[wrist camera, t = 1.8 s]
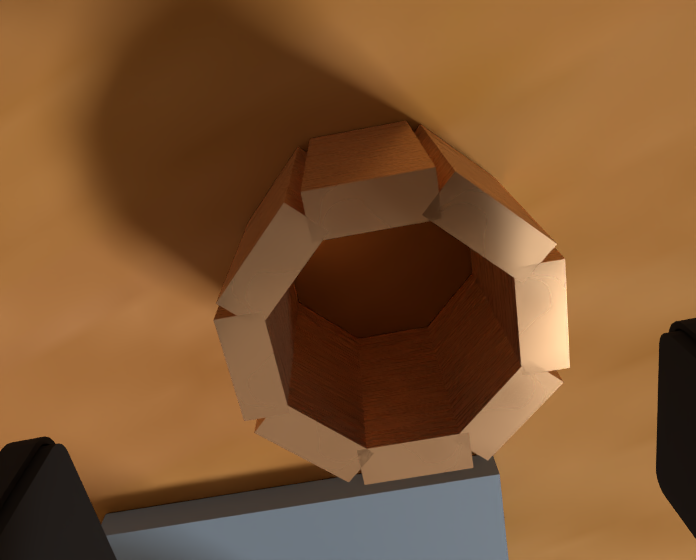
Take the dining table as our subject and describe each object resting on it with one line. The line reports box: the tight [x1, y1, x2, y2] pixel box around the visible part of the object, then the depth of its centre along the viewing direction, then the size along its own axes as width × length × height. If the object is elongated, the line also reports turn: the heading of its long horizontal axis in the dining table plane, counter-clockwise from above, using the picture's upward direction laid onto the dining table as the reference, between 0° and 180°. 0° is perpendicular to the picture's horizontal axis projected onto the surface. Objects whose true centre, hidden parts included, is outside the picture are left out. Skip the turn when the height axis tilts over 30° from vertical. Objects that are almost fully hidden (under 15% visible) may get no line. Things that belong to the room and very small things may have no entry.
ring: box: [214, 121, 570, 485], centre depth 15 cm, size 7×7×5 cm
